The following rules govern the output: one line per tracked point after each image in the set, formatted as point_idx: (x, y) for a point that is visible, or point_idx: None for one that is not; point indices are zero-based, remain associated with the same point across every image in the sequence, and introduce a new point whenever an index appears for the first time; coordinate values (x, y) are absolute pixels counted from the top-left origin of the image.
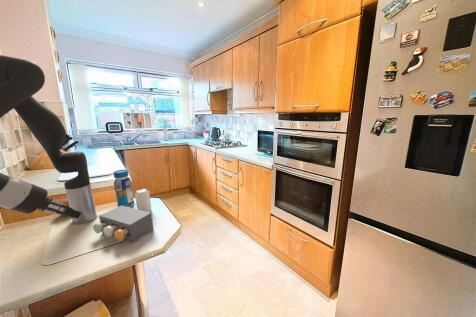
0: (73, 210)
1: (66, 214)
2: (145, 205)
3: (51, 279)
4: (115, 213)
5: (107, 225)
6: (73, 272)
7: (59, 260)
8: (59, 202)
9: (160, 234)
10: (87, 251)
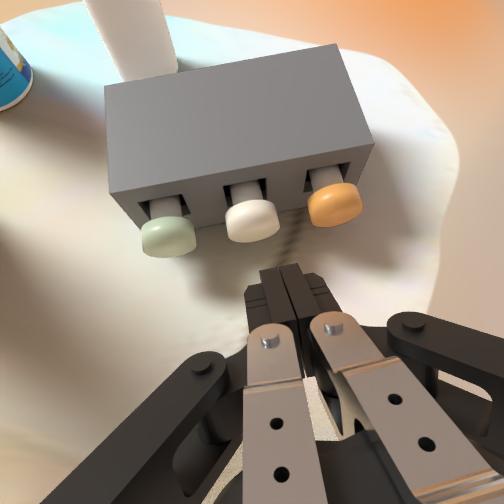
0: (316, 305)
1: (474, 398)
2: (165, 35)
3: None
4: (172, 136)
5: (180, 204)
6: None
7: None
8: (469, 445)
9: (380, 116)
10: (243, 328)
